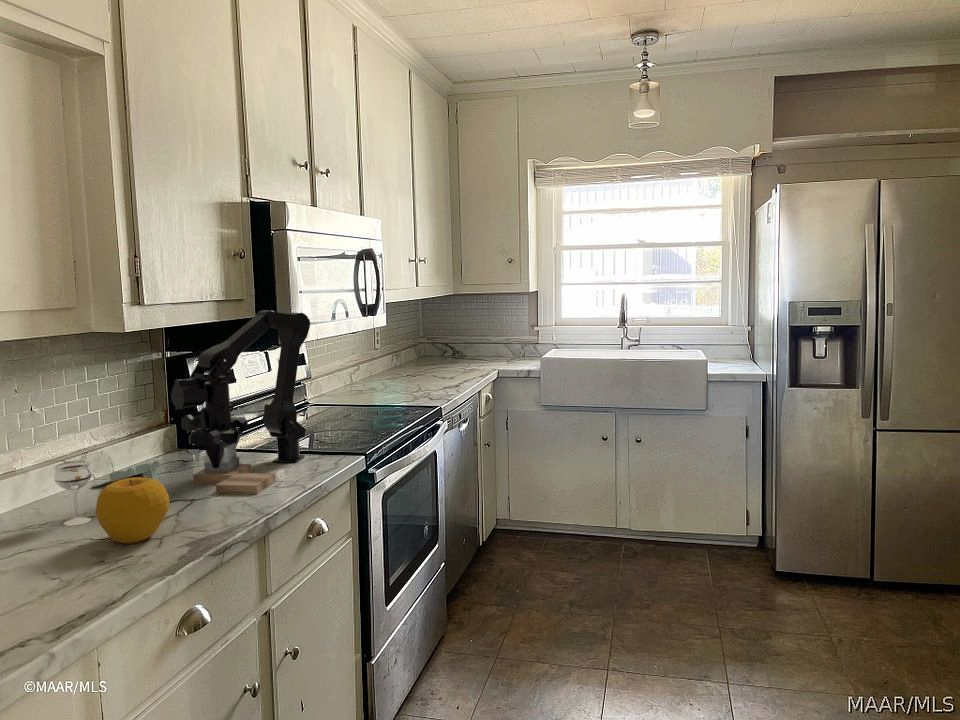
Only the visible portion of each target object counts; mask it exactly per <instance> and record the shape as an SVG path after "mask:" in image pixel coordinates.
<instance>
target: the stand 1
mask: <svg viewBox="0 0 960 720" xmlns="http://www.w3.org/2000/svg"><path fill="white" fill-rule="evenodd" d="M239 464H240V466H239V467H238V468H236V469H234V470H232V471H231V472H229V473H205V468H203V469H202V470H199V471H197V472H196V473H194V474H192V479H193V484H218V483H220V482H222V481H223V480H225V479H227V478H228V477H230V476H232V475H233V474H235V473H252V464H250V463H245V464H243V463H239Z"/></svg>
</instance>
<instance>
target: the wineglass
mask: <svg viewBox="0 0 960 720" xmlns="http://www.w3.org/2000/svg"><path fill="white" fill-rule="evenodd" d="M89 465H91V461H89V460H73V461H66V462H62V463H58V464H55V465H54V466H53V469H54V471H55V472H54V475H53V479H54V481H55V483H56V485H57V486H59V487H60V488H61V489H64V490H68V491H70V492H71V493H72V498H73V505H74V510H75V511H74V512H75V517H74V518H71V519H68V520H66V521H65V522H63V525H65V526H70V527H71V526H80V525H83V524H86V523H89V522H91V520H92V518H90V517H87V516H86V517H80V516H79V506H78V504H79V503H78V492H80V491H79V490H80V489H81V488H83V487H84V486H86V485H87V484H88V483H89V482H90V480H91V477H92V470H91V468H90V466H89Z"/></svg>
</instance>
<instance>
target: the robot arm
mask: <svg viewBox="0 0 960 720" xmlns="http://www.w3.org/2000/svg"><path fill="white" fill-rule="evenodd" d="M310 327H311V320H310V319H309V317H308V315H306V314H305V313H303V312H284V313H283V312H276V311H274V310H272V309H271V310H267V309H266V310H265V309H263V310H259V311H258V312H257V313H256V315H255V316H254V317H252V318H251V319H250V320H249V321H247V322H246V324H244V325H243V326H241V327H240V328H239V329H238V330H237V331H236V332H234V333H233V334H232V335H231V336H230V337H228V338H227V339H226V340H224V341H222V342H221V343H219V344H216V345H213V346H212V347H210V348H207V349H206V350H204V351H203V352H201V353H200V354H199V356H198V358H197V359H198V360H197V364H196V366H195V367H194V369H193V371H192V372H191V375H190V376H189V378H185V379H181V378H180V379H175V380H174V385H173V387H172V389H171V392H170V393H171V394H170V399H171V401H172V404H173V406H174V407H175V408H176V409H177V410H181V409H185V408H186V409H187V408H191V407H198V406H203V405H204V407H201V410H200V414H198V415H195V416H193V415H192V414H188V415H185V416H183V417H181V425H180V427H181V428H182V429H183V430H185V431H186V433H187V434H189V433H190V434H189V436H188V441H189V442H188V443H189V444H190V445H197V446H200V447H201V448H203V449H204V451H205V454H206V453H207V455H208V457H209V459H210V461H211V464H212V466H213V468H218V467H219V463H220V459H221V454H222V449H223V445H224V443H236V447H237V446H238V444H239V441H240V439H241V437H242V435H243V434H244V430H246V429H248V428H249V425H248V424H249V423H248V422H249V421H248V419H246V417H244V416H241V417H240V416H238V417H237V416H232V415H231V414H232V413H231V410H233V409H234V408H235V407H234V404H233V403H231V398H230V387H229V385H230V384H229V383H235V382H237V378H235V377H234V376H233V375H232V374H231V373H230V371H231V370H232V368H233V367H234V366H235V365H236V363H237V361H238V358H239V356H240V355H241V354H242V353H244V351H245V350H246V349H247V348H248V347H250V346H251V345H252V344H253V343H255V341H257V340H258V339H259V338H260V337H261V336H262V335H263V334H265V332H267V331H268V330H269V329H270V328H273V329H277V338H278V339H279V343H280V353H279V359H278V366H277V372H276V373H277V374H276V375H277V376H276V382H275V389H274V395H273V396H274V397H273V399H272V401H271V402H270V404H268V403H265V404H264V407H263V416H262V418H261V420H263V426H264V427H265V430H267V431H268V433H269V436H270V438H271V437H272V438H276V446H277V447H276V449H277V458H274V459H273V460H272V462H273V463H297V462H299V461H300V460H302V459H303V458H304V457H306V456H305V454H301V451H300V440H301V439H303V438H305V435H306V431H307V430H306V428H305V427H304V426H303V425H302V424H301V423H299V422H298V412H297V408H296V406H295V402H294V395H295V387H296V381H297V374H298V367H299V366H298V365H299V358H300V350H301V347H302V346H303V344H304V343H305V340H306V339H307V338H308V335H309V331H310ZM239 429H240V430H239Z"/></svg>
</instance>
